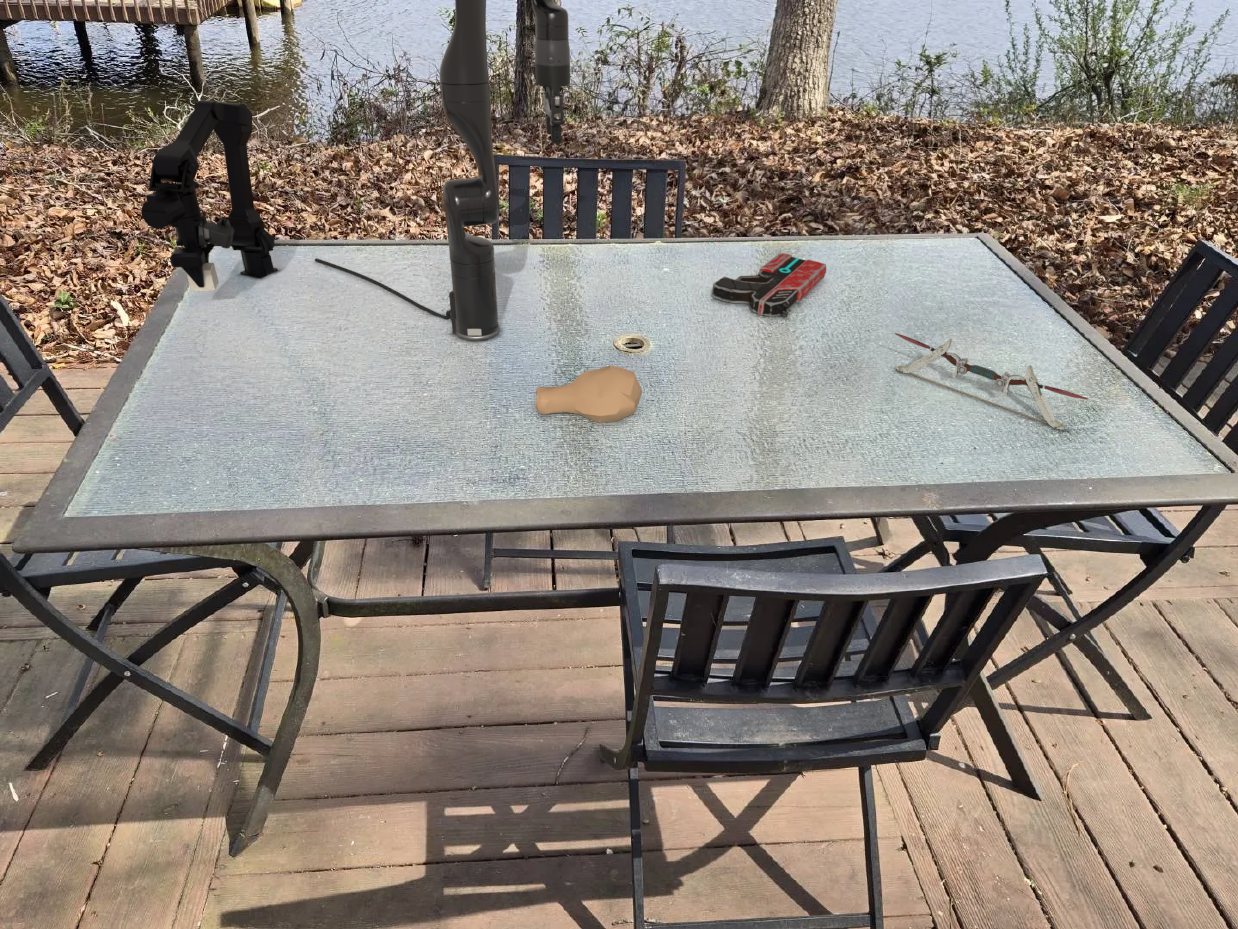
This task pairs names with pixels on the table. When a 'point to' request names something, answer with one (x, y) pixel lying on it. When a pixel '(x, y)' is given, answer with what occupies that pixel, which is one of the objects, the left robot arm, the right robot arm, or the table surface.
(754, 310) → the gun
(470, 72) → the right robot arm
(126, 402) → the table surface
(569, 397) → the squash
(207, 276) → the beige cube
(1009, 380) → the bow
